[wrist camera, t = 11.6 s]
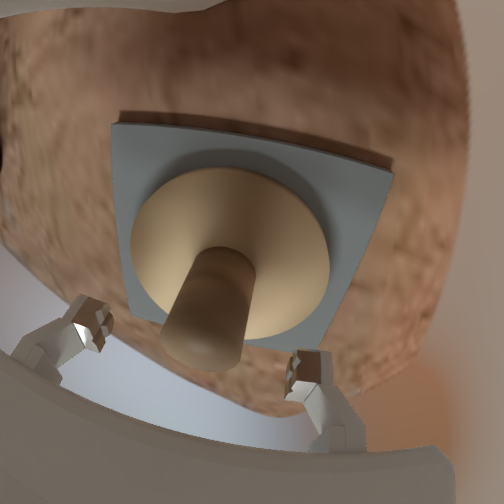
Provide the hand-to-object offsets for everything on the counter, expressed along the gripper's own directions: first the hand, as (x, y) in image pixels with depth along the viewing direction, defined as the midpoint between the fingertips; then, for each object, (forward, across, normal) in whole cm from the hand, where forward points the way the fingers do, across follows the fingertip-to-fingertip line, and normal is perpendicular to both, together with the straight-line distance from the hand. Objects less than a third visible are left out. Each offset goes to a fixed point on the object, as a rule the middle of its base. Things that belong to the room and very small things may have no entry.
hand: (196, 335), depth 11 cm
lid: (+6, 0, 0) cm, 6 cm away
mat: (+6, 0, 0) cm, 6 cm away
